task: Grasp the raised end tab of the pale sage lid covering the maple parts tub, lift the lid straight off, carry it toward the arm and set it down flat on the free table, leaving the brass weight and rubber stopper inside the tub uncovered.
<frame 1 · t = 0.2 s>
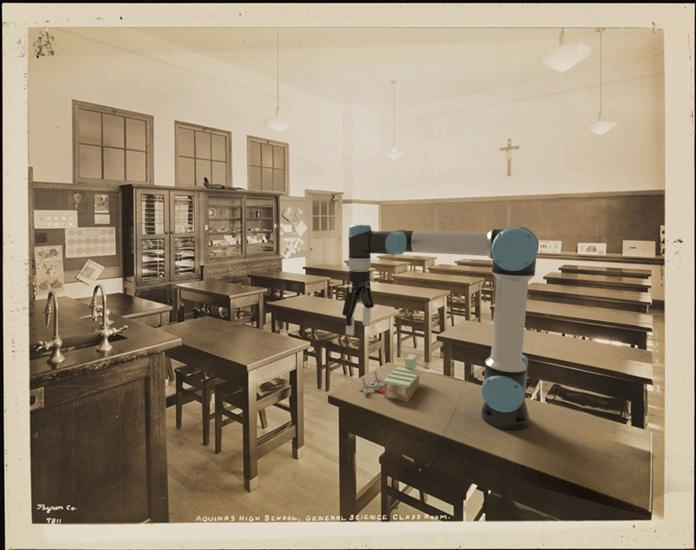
hand: (358, 329, 143), 28 cm above the table, fingers open, 13 cm apart
molecular model: (373, 392, 159), on the table
lid: (402, 377, 157), point 6 cm above the table, touching tub
rubber stopper: (402, 386, 161), point 1 cm above the table, touching tub
brass weight: (402, 394, 154), point 1 cm above the table, touching tub
tub: (402, 392, 157), on the table
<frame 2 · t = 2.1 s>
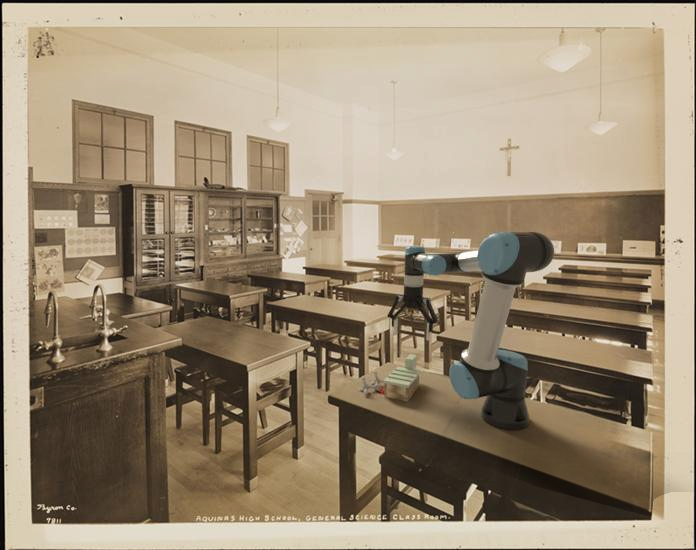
hand: (411, 337, 165), 19 cm above the table, fingers open, 13 cm apart
nothing on the table moved.
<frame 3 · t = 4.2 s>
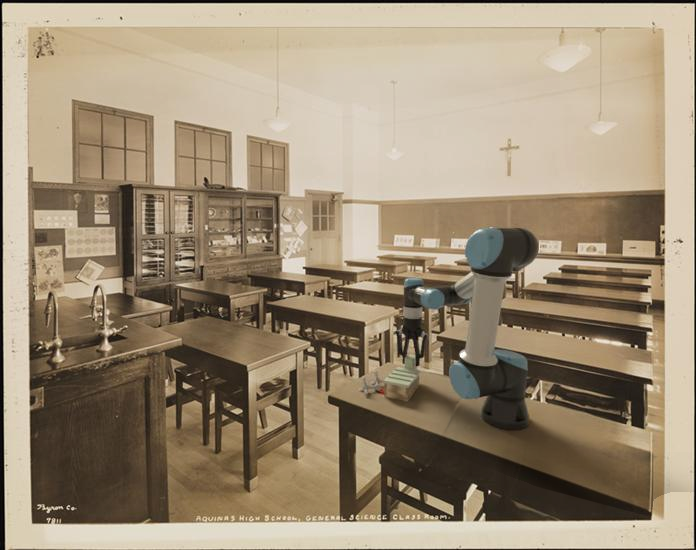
hand: (410, 372, 167), 4 cm above the table, fingers closed on lid, 3 cm apart
lid: (402, 377, 157), point 6 cm above the table, touching gripper
everything else where it was.
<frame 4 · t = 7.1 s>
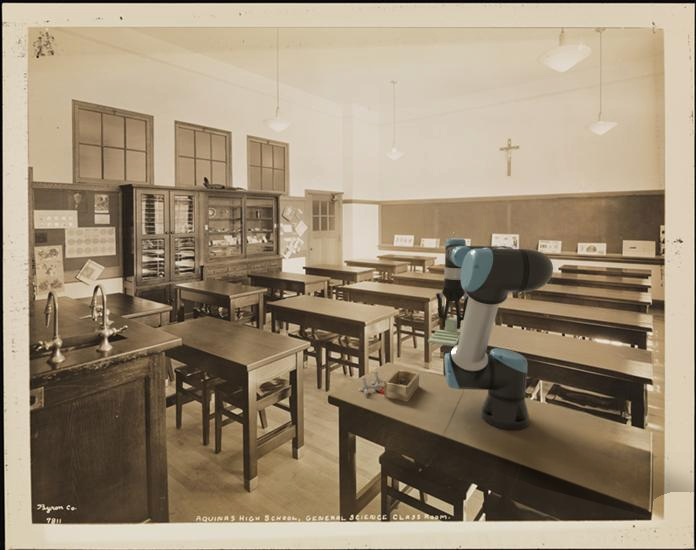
hand: (451, 335, 164), 20 cm above the table, fingers closed on lid, 3 cm apart
lid: (445, 338, 154), point 22 cm above the table, touching gripper
everything else where it was.
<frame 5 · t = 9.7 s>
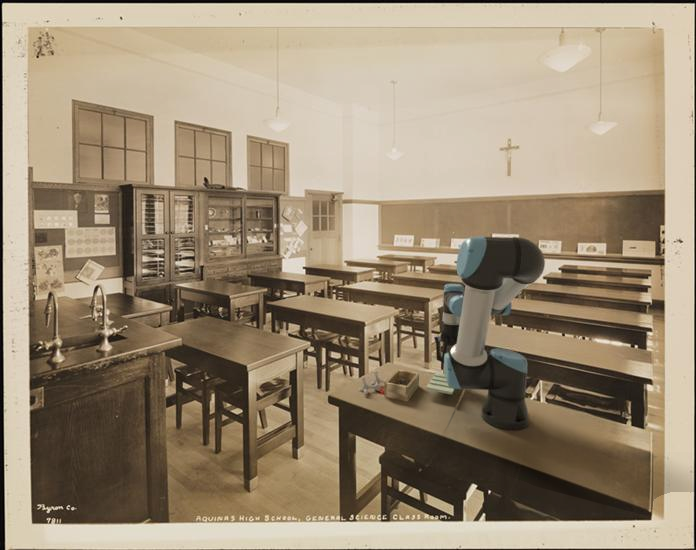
hand: (449, 378, 166), 2 cm above the table, fingers closed on lid, 3 cm apart
lid: (443, 384, 157), point 4 cm above the table, touching gripper
everything else where it was.
when the fingers open (1 cm above the table, at t = 10.1 s): lid drops 3 cm, on the table.
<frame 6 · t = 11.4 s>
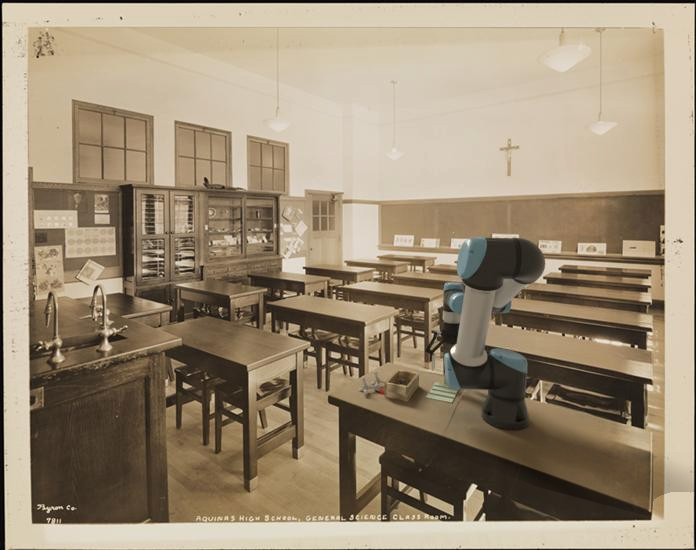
hand: (449, 372, 165), 5 cm above the table, fingers open, 13 cm apart
lid: (443, 393, 157), on the table
everything else where it was.
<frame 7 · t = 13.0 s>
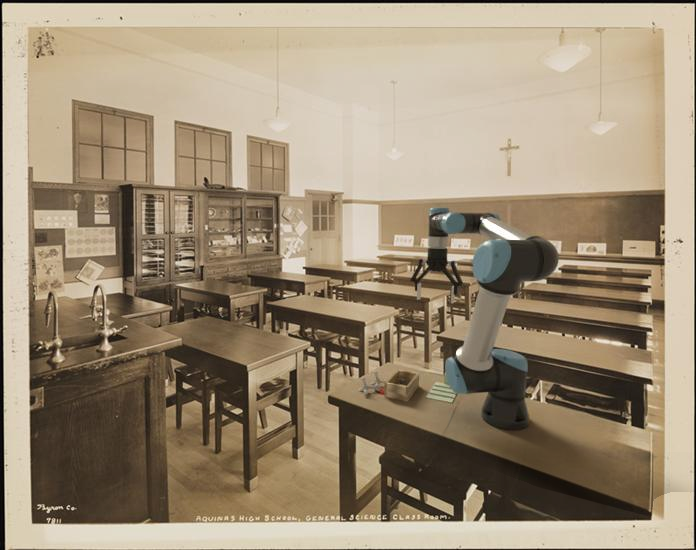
hand: (435, 301, 162), 34 cm above the table, fingers open, 13 cm apart
nothing on the table moved.
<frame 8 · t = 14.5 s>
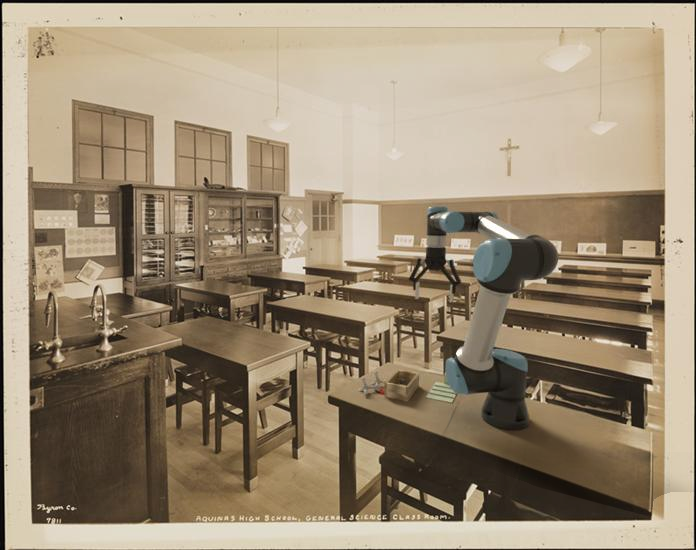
hand: (433, 300, 162), 35 cm above the table, fingers open, 13 cm apart
nothing on the table moved.
at the end: lid inside the target area (0.1 cm from its centre), on the table; lid touching table; lid tilted 0° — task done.
